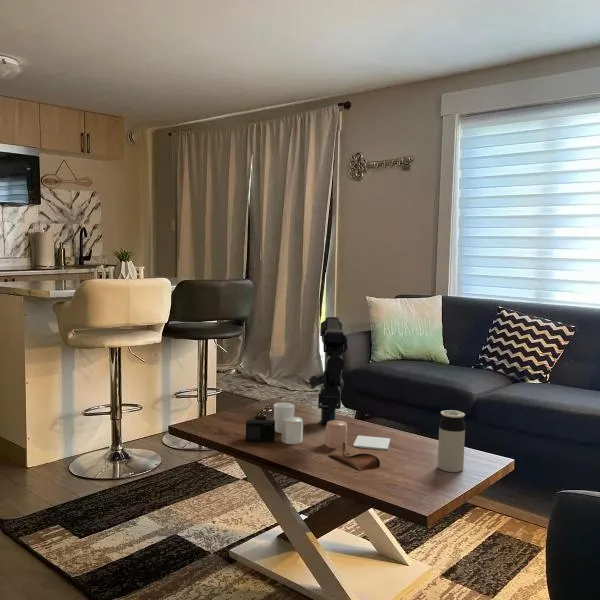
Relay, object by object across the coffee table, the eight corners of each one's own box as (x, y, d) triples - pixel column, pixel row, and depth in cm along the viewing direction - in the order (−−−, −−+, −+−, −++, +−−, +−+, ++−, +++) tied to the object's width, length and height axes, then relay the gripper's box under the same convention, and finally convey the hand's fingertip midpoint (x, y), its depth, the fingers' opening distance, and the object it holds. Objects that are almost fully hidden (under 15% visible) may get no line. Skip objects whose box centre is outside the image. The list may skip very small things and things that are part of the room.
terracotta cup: (328, 441, 218) (328, 419, 218) (347, 443, 217) (348, 421, 216) (324, 447, 211) (324, 424, 211) (344, 449, 210) (345, 426, 209)
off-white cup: (285, 437, 222) (285, 415, 221) (303, 439, 220) (304, 417, 220) (280, 443, 215) (280, 420, 214) (299, 444, 213) (299, 422, 213)
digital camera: (245, 443, 214) (245, 423, 214) (246, 438, 220) (246, 419, 219) (274, 443, 215) (275, 424, 214) (274, 438, 220) (275, 419, 220)
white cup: (285, 435, 224) (286, 408, 223) (269, 431, 229) (269, 405, 228) (298, 430, 231) (298, 404, 230) (282, 426, 235) (282, 401, 234)
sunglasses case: (324, 455, 203) (332, 436, 205) (338, 462, 207) (346, 444, 209) (360, 471, 189) (369, 451, 190) (374, 479, 193) (383, 459, 194)
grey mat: (357, 437, 224) (357, 435, 224) (390, 440, 222) (390, 438, 222) (353, 446, 213) (353, 445, 213) (387, 450, 210) (387, 448, 210)
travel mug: (438, 472, 190) (441, 415, 189) (436, 463, 198) (438, 409, 197) (464, 473, 189) (467, 417, 188) (461, 465, 197) (464, 410, 196)
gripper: (313, 361, 222) (312, 403, 223) (307, 371, 204) (306, 416, 205) (343, 362, 221) (342, 404, 222) (340, 372, 202) (339, 418, 204)
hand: (332, 410), depth 213 cm, fingers open, 9 cm apart
